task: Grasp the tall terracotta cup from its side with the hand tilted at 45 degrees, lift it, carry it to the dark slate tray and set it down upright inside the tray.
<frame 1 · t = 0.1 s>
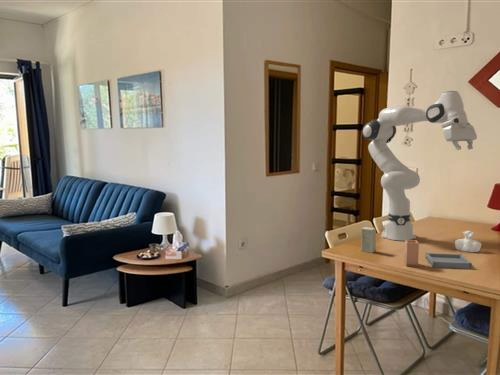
hand: (464, 149, 194), 52 cm above the table, tool tilted 20°, fingers open, 8 cm apart
skincare box: (368, 251, 207), on the table
cup: (410, 264, 184), on the table
tray: (447, 263, 186), on the table
bust: (467, 251, 206), on the table
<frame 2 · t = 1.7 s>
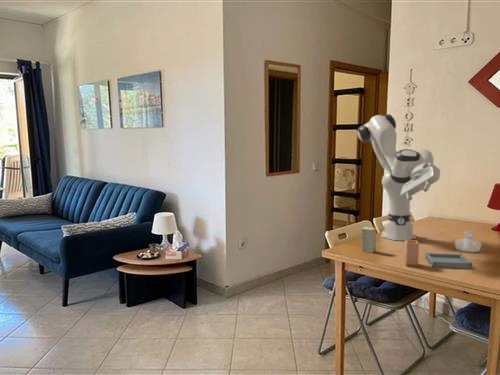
hand: (417, 195, 181), 32 cm above the table, tool tilted 55°, fingers open, 8 cm apart
nothing on the table moved.
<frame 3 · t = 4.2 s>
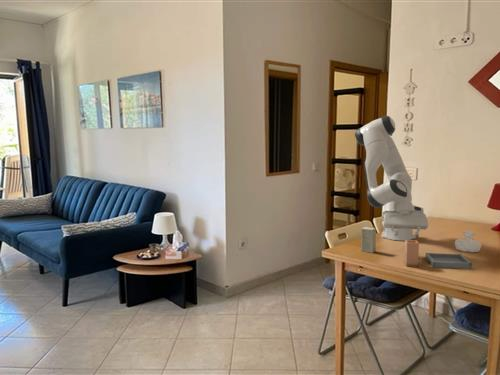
hand: (406, 235, 189), 12 cm above the table, tool tilted 45°, fingers open, 8 cm apart
nothing on the table moved.
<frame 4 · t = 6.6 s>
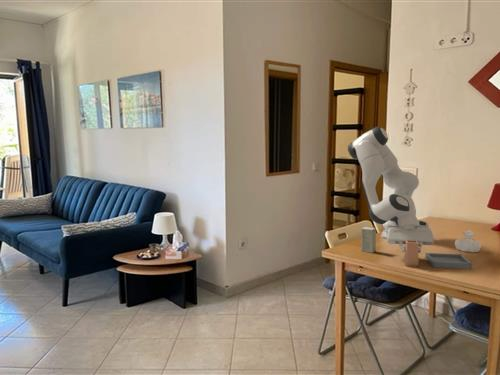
hand: (411, 251, 183), 6 cm above the table, tool tilted 45°, fingers closed on cup, 5 cm apart
cup: (410, 264, 184), on the table, touching gripper
everything else where it was.
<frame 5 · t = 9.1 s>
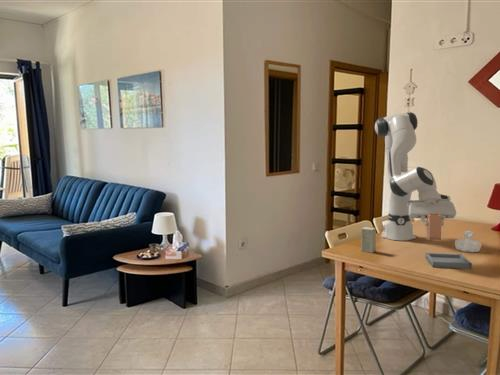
hand: (434, 225, 182), 18 cm above the table, tool tilted 45°, fingers closed on cup, 5 cm apart
cup: (433, 238, 184), point 12 cm above the table, touching gripper
everything else where it was.
when the fingers open (9 cm above the table, at t = 11.9 s): cup drops 2 cm, resting on tray.
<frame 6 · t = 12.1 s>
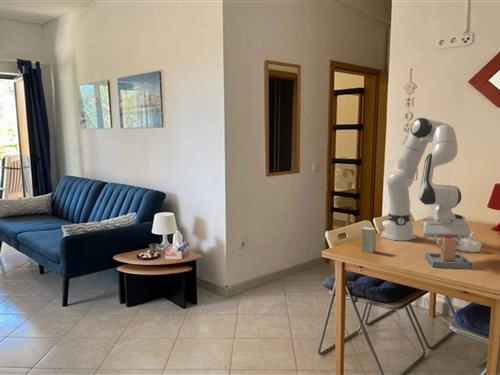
hand: (448, 244, 184), 9 cm above the table, tool tilted 45°, fingers open, 7 cm apart
cup: (447, 261, 186), point 1 cm above the table, touching tray
everything else where it was.
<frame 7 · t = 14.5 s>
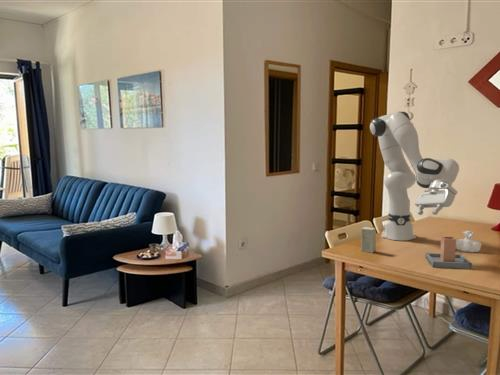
hand: (426, 214, 186), 23 cm above the table, tool tilted 40°, fingers open, 8 cm apart
nothing on the table moved.
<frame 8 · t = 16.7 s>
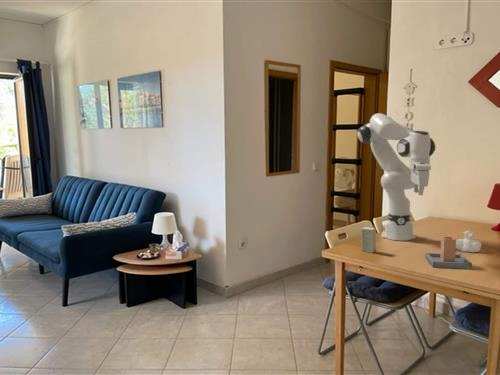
hand: (418, 193, 193), 31 cm above the table, tool pointing down, fingers open, 8 cm apart
nothing on the table moved.
at the end: cup 0.1 cm from the tray (horizontally); cup tilted 0°; the gripper is holding nothing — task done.
